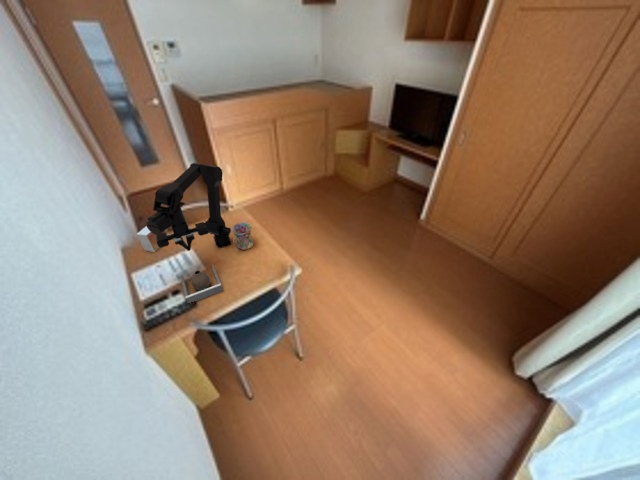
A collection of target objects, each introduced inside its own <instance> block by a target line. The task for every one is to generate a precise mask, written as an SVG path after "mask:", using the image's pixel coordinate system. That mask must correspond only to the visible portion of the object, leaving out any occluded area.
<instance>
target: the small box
mask: <svg viewBox="0 0 640 480" xmlns="http://www.w3.org/2000/svg"><path fill="white" fill-rule="evenodd" d="M136 237H137V238H138V240H139V242H140V244H141V246H142V248H143V249H144V251H145V252H152V253H156V252H157V251H158V250H159V249H160V248H159V247H158V245H157V242H156V235H155V234H153V233H152V232H151V231H150V230H149V229H148V228H147V226H145V227H143V228H141V229H140V231H138V232H137V233H136Z"/></svg>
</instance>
